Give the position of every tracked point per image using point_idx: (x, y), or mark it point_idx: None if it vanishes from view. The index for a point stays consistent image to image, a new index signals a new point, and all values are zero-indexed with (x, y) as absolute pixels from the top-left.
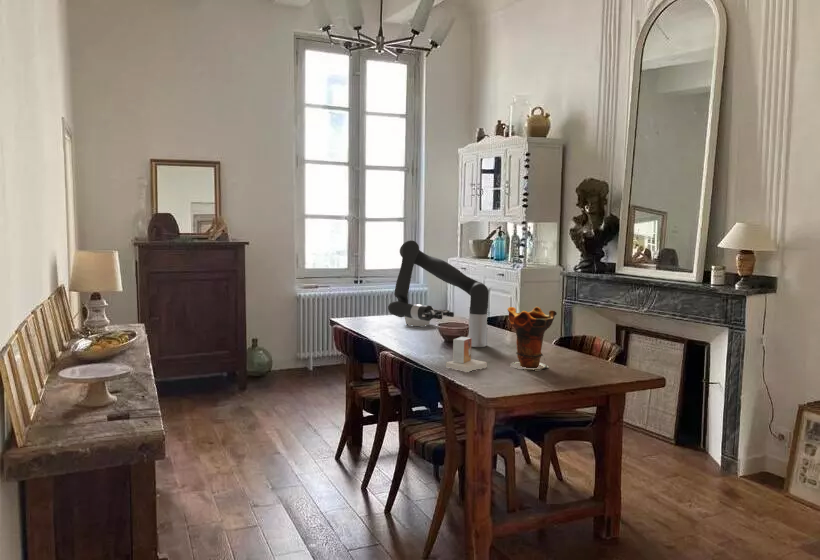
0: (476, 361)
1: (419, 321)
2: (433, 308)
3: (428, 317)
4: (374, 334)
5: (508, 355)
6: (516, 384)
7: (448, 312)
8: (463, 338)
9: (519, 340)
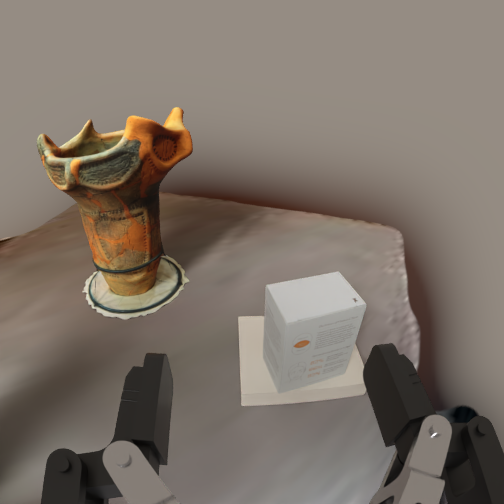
0: (257, 339)
1: None
2: None
3: (457, 494)
4: None
5: (30, 365)
6: (303, 237)
7: (156, 419)
8: (314, 290)
9: (153, 216)
